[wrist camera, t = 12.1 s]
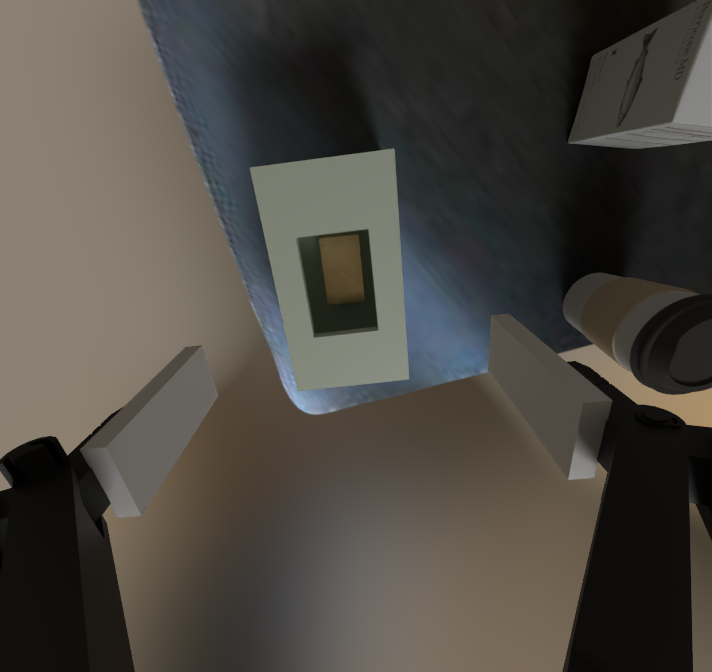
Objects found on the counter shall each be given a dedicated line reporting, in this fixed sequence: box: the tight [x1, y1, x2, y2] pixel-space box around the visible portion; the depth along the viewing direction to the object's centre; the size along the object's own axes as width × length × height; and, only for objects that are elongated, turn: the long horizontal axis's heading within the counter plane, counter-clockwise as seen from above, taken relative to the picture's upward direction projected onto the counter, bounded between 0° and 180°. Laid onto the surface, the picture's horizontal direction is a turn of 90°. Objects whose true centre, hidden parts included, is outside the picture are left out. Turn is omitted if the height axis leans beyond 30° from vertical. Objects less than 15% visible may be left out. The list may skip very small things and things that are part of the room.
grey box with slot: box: [250, 149, 409, 391], centre depth 34 cm, size 20×11×10 cm, turn 7°
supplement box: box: [568, 0, 712, 149], centre depth 27 cm, size 7×7×13 cm
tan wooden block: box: [319, 231, 365, 305], centre depth 37 cm, size 7×4×3 cm, turn 6°
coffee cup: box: [563, 273, 712, 395], centre depth 34 cm, size 9×9×15 cm
